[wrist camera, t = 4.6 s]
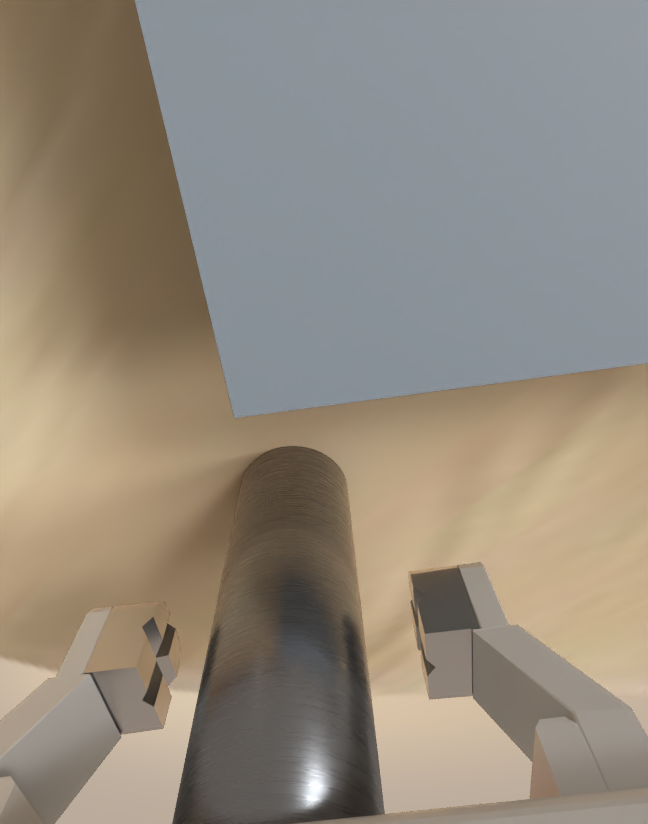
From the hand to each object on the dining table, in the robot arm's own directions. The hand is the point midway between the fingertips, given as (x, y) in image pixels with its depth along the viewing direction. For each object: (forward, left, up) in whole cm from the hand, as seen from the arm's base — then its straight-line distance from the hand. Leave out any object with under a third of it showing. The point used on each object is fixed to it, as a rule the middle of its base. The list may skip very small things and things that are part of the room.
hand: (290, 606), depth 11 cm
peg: (0, 0, -4) cm, 4 cm away
